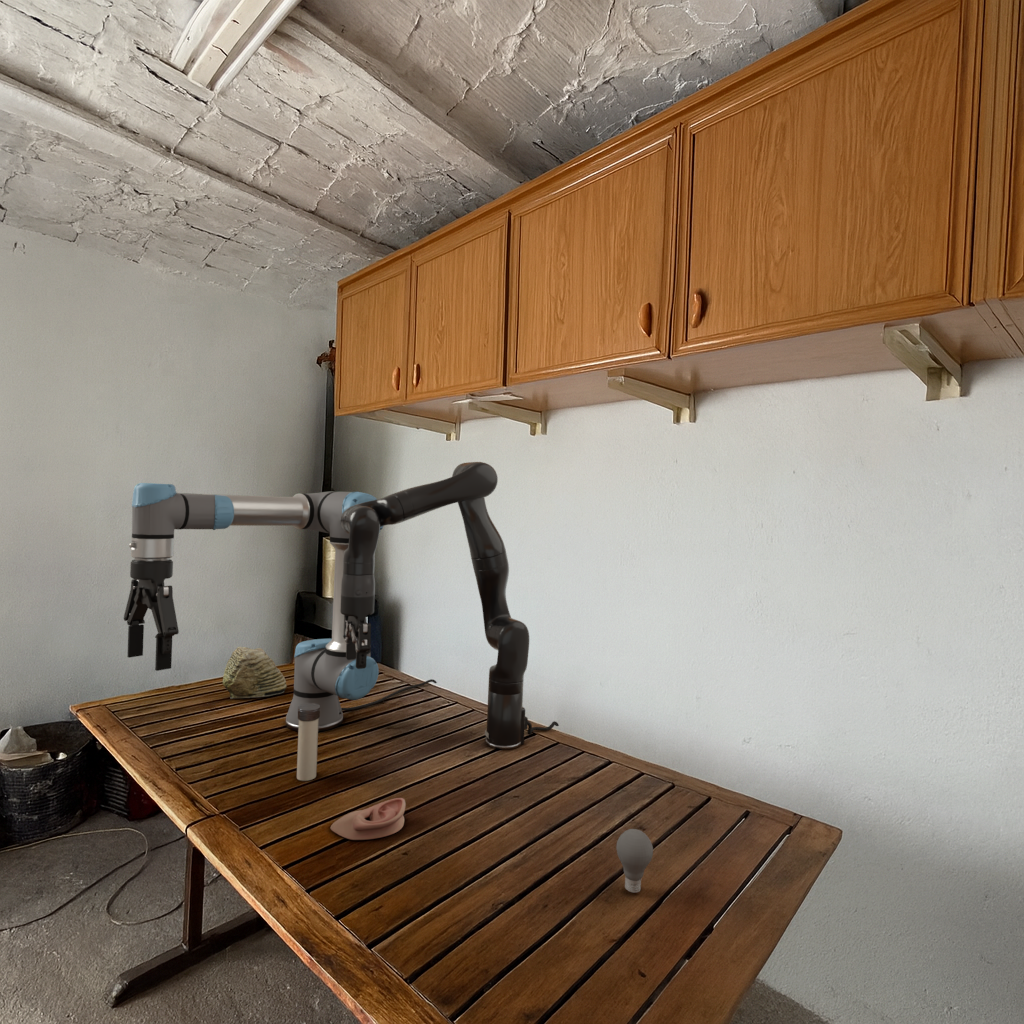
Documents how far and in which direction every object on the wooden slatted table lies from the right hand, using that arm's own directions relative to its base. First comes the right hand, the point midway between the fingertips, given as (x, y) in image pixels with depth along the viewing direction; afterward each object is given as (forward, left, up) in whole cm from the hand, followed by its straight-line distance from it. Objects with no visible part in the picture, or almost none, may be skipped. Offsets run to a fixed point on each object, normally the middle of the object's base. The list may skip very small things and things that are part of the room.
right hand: (355, 663), depth 145 cm
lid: (+10, -2, -10) cm, 14 cm away
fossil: (+13, -67, -25) cm, 73 cm away
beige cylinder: (+10, -2, -26) cm, 27 cm away
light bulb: (-30, +63, -25) cm, 74 cm away
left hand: (+41, -5, +2) cm, 42 cm away
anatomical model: (+3, +24, -25) cm, 35 cm away
